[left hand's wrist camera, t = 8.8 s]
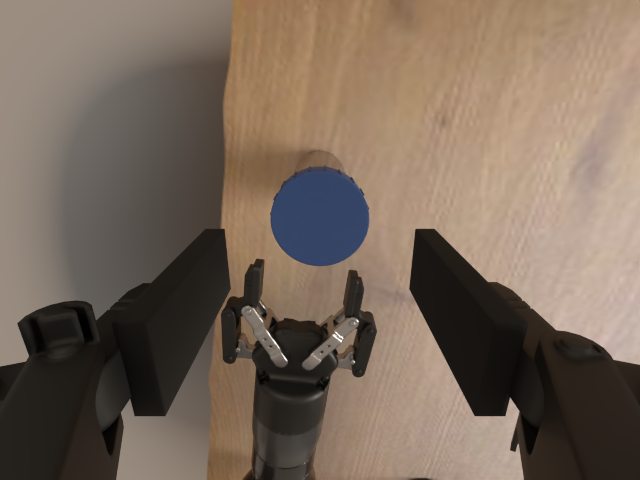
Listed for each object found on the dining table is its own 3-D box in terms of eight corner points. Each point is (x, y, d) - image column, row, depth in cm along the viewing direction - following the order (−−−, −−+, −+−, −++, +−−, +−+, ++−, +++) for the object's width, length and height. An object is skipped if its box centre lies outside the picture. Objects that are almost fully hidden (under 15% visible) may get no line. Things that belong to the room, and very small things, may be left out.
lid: (285, 154, 20) (281, 158, 18) (377, 178, 20) (383, 185, 18) (265, 242, 22) (260, 254, 20) (350, 262, 22) (353, 276, 20)
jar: (302, 144, 33) (289, 167, 18) (349, 157, 33) (372, 189, 19) (291, 191, 34) (271, 246, 20) (336, 203, 35) (347, 264, 20)
